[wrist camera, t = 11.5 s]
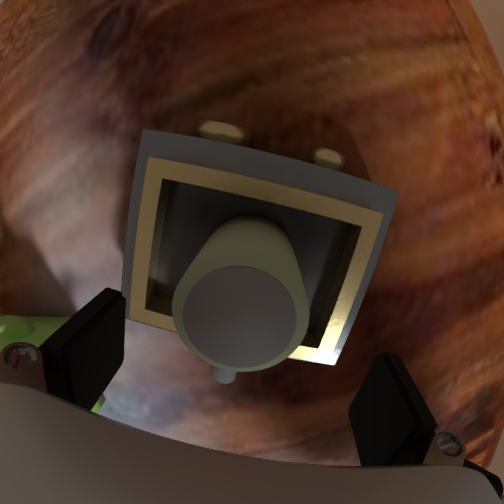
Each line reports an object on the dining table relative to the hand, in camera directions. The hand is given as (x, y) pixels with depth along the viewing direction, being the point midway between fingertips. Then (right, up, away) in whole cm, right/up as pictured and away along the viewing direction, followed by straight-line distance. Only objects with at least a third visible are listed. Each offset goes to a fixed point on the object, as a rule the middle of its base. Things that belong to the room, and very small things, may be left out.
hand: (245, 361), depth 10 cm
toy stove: (0, +5, +13) cm, 14 cm away
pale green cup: (0, +3, +8) cm, 9 cm away
